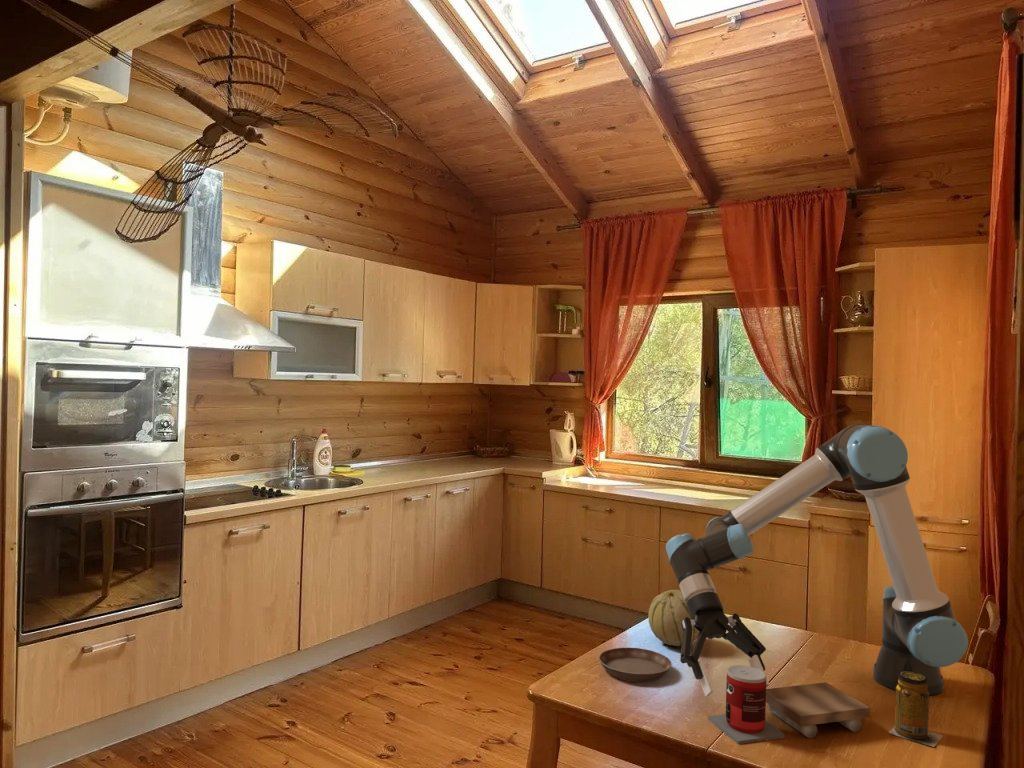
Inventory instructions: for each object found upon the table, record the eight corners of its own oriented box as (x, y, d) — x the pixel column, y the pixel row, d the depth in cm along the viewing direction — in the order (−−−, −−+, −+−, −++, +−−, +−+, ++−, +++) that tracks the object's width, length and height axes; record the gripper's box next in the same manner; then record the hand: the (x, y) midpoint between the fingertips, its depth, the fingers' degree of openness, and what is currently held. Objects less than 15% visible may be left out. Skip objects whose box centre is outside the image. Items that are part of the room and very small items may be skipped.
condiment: (898, 722, 158) (900, 666, 158) (943, 736, 152) (945, 678, 152) (887, 733, 152) (889, 676, 152) (933, 748, 147) (935, 688, 147)
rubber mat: (752, 713, 160) (752, 710, 160) (785, 737, 150) (785, 734, 150) (707, 719, 157) (707, 716, 157) (738, 744, 146) (738, 741, 146)
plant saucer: (603, 654, 193) (604, 642, 193) (673, 663, 188) (673, 651, 188) (593, 680, 176) (593, 668, 176) (669, 691, 171) (669, 677, 171)
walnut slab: (825, 704, 166) (826, 682, 166) (869, 731, 153) (869, 707, 153) (760, 712, 161) (761, 689, 161) (800, 741, 148) (800, 716, 148)
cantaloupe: (710, 642, 203) (711, 587, 203) (692, 658, 191) (694, 600, 191) (658, 631, 211) (660, 579, 211) (639, 646, 199) (640, 590, 199)
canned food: (734, 713, 159) (735, 662, 159) (771, 724, 154) (772, 672, 154) (718, 725, 153) (720, 672, 153) (756, 738, 148) (758, 683, 148)
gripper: (740, 602, 176) (779, 691, 162) (646, 609, 169) (678, 703, 154) (755, 586, 171) (796, 677, 157) (658, 593, 163) (692, 689, 149)
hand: (737, 690), depth 156 cm, fingers open, 13 cm apart
